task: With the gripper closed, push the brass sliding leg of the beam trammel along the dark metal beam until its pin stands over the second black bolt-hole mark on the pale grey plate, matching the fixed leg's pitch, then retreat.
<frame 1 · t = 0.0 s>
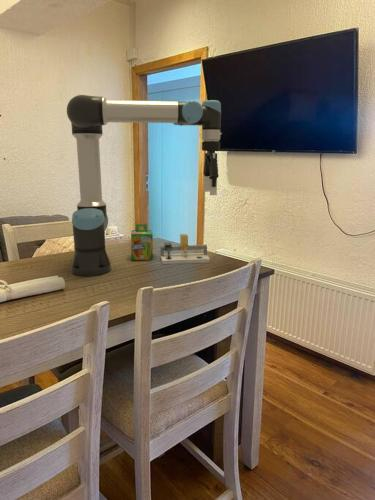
hand: (210, 193, 161), 28 cm above the table, fingers open, 13 cm apart
hole plate: (184, 260, 164), on the table
sliding leg: (184, 245, 163), point 6 cm above the table, slide at 0.0 cm
chalk box: (142, 258, 167), on the table
fixed leg: (168, 260, 163), resting on hole plate
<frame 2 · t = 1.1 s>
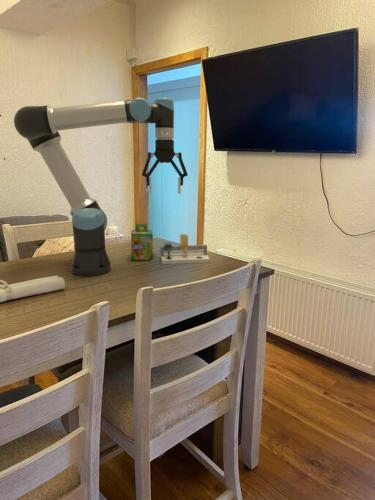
hand: (164, 193, 160), 28 cm above the table, fingers open, 11 cm apart
nothing on the table moved.
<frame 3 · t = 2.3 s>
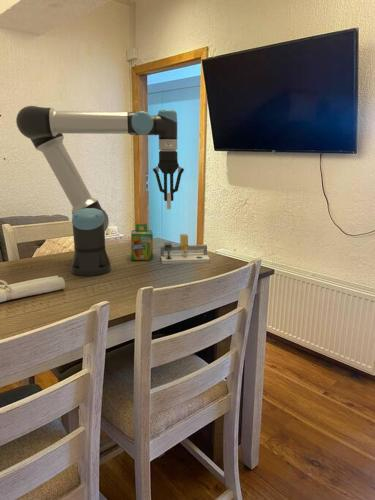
hand: (168, 208, 160), 22 cm above the table, fingers closed
nothing on the table moved.
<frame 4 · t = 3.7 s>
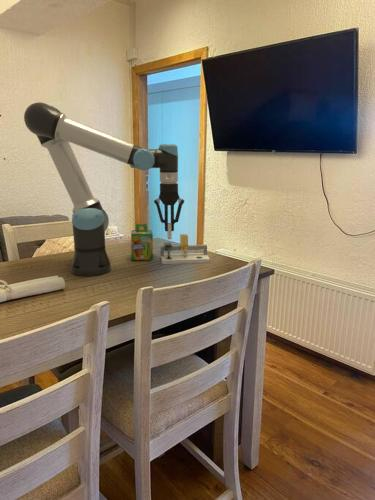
hand: (169, 238, 164), 9 cm above the table, fingers closed
nothing on the table moved.
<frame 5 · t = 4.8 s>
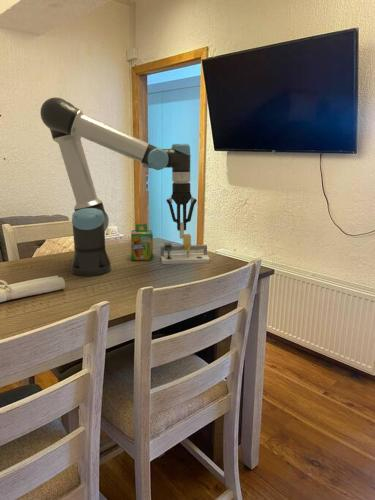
hand: (181, 237, 164), 9 cm above the table, fingers closed
sliding leg: (187, 245, 163), point 6 cm above the table, slide at 1.3 cm, touching gripper
everything else where it was.
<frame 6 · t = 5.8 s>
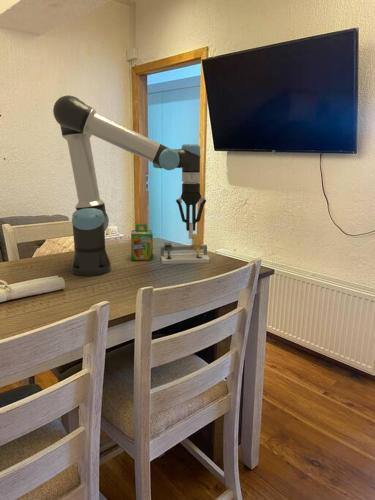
hand: (190, 238, 165), 9 cm above the table, fingers closed
sliding leg: (196, 245, 164), point 6 cm above the table, slide at 5.2 cm, touching gripper
everything else where it was.
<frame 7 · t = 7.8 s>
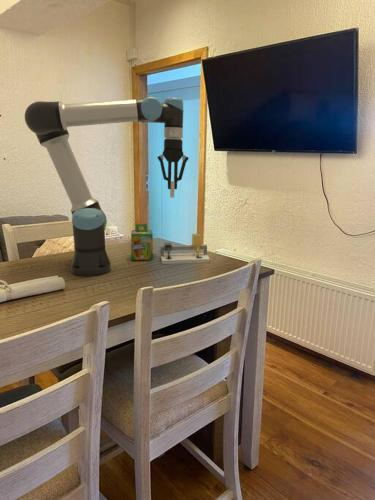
hand: (172, 197, 161), 26 cm above the table, fingers closed
sliding leg: (196, 245, 164), point 6 cm above the table, slide at 5.2 cm
everything else where it was.
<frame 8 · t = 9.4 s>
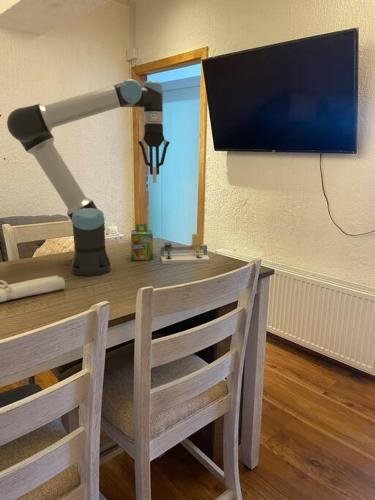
hand: (154, 182, 160), 32 cm above the table, fingers closed
nothing on the table moved.
at the end: sliding leg slide at 5.2 cm; sliding leg 0.8 cm from the target spot, resting on hole plate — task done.
